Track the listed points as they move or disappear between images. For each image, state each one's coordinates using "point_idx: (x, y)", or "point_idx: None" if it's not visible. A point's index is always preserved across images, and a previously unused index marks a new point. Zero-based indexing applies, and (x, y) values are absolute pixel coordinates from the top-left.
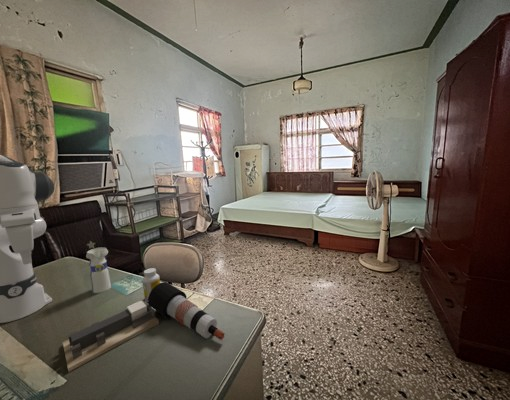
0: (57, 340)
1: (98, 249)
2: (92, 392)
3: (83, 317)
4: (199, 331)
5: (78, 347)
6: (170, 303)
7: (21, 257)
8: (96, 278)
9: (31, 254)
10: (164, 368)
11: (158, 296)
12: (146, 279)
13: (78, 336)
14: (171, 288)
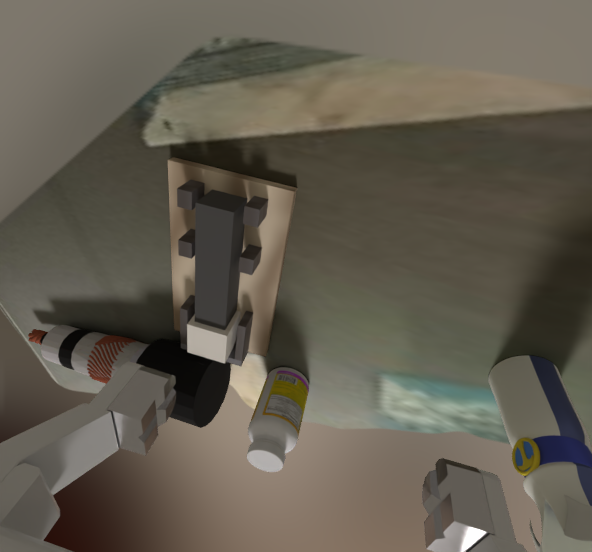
0: (340, 187)
1: None
2: (78, 162)
3: (391, 271)
4: (61, 331)
5: (177, 201)
6: None
7: (51, 419)
8: (524, 408)
9: (424, 490)
10: (51, 254)
11: None
12: (261, 428)
13: (206, 220)
14: None
